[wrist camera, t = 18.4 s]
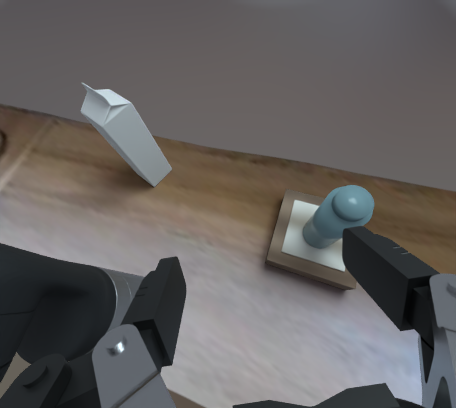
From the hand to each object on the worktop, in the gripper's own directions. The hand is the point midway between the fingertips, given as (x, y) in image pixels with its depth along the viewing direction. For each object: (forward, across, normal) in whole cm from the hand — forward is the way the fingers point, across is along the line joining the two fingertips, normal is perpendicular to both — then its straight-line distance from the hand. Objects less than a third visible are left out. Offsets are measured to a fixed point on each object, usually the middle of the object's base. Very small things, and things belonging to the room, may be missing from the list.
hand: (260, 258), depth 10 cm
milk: (+42, +18, +2) cm, 46 cm away
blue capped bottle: (+23, -12, +14) cm, 30 cm away
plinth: (+26, -12, +17) cm, 34 cm away
